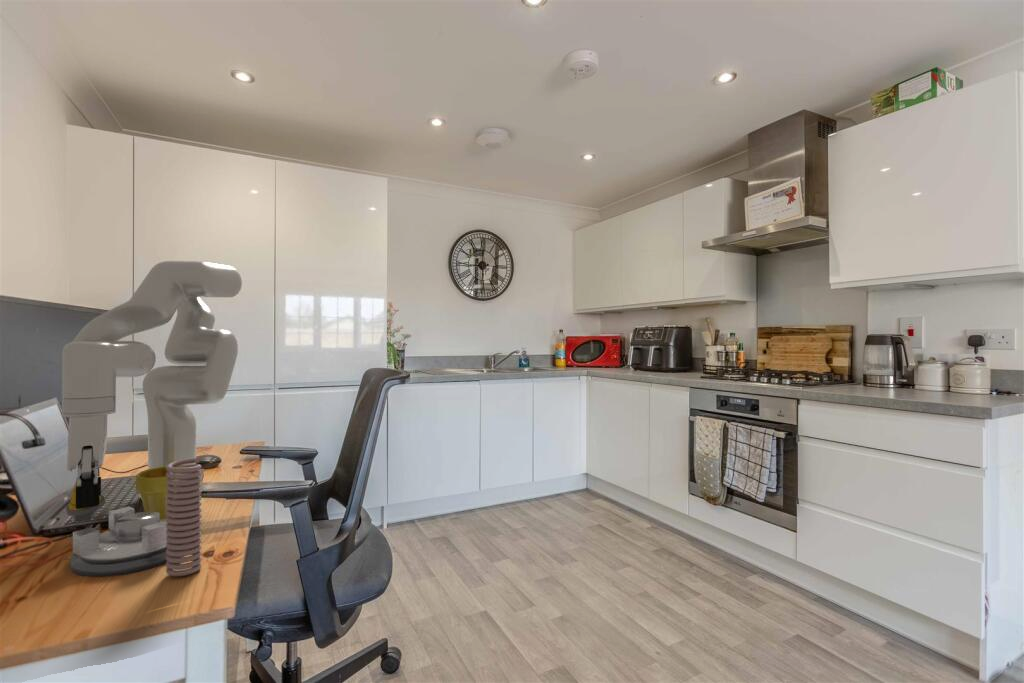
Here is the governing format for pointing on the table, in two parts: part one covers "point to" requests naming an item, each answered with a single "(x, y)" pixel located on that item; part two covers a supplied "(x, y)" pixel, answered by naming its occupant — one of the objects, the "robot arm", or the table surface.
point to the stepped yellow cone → (82, 513)
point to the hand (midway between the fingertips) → (88, 501)
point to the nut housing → (117, 565)
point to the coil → (183, 517)
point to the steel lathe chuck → (122, 537)
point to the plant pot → (153, 489)
